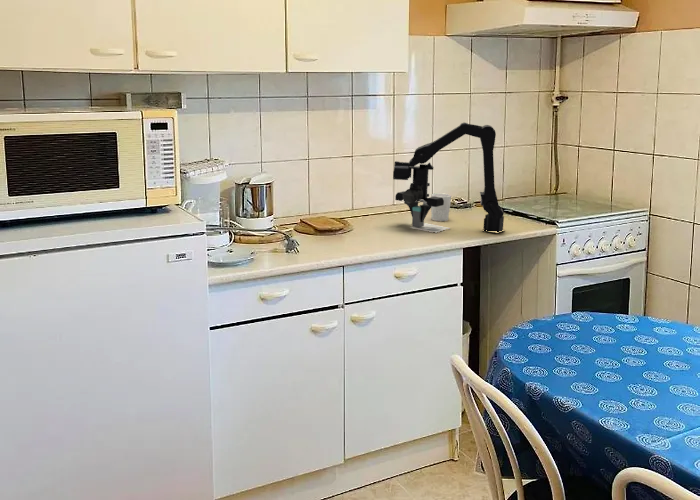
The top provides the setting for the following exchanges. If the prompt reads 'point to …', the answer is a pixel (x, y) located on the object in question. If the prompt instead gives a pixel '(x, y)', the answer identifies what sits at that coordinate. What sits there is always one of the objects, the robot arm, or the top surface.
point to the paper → (431, 228)
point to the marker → (417, 217)
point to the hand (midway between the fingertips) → (418, 221)
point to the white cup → (441, 208)
